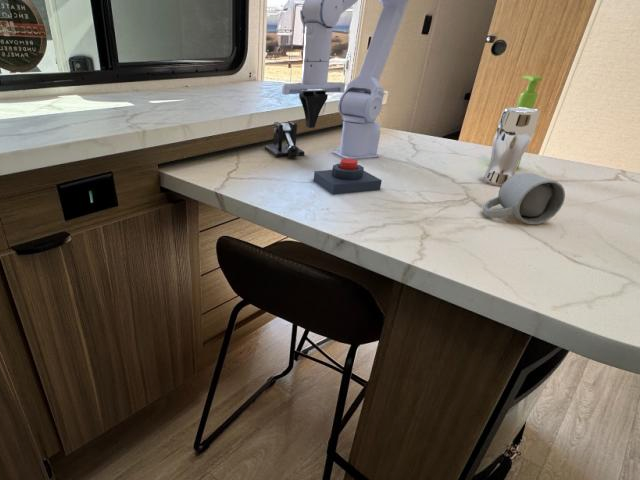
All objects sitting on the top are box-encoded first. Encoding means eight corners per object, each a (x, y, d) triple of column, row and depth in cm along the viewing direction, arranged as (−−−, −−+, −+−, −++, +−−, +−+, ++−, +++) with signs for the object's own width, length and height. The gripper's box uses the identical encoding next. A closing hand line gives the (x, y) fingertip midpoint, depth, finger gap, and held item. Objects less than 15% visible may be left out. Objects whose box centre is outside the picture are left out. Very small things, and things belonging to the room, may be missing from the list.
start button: (351, 166, 91) (352, 157, 90) (359, 170, 88) (360, 162, 87) (336, 167, 90) (337, 159, 89) (344, 171, 87) (345, 163, 86)
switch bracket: (304, 156, 112) (306, 125, 108) (276, 158, 111) (277, 127, 106) (290, 147, 120) (292, 119, 116) (264, 149, 119) (265, 120, 114)
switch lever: (298, 159, 110) (301, 151, 107) (288, 160, 109) (290, 151, 107) (287, 130, 115) (290, 121, 112) (277, 131, 114) (279, 122, 111)
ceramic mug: (527, 207, 79) (543, 167, 75) (555, 224, 72) (574, 181, 68) (472, 209, 79) (484, 168, 75) (494, 225, 72) (509, 182, 68)
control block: (357, 177, 96) (359, 159, 94) (380, 190, 88) (383, 171, 86) (313, 180, 94) (315, 163, 92) (333, 195, 86) (335, 175, 84)
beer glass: (521, 186, 90) (549, 112, 82) (489, 186, 90) (513, 112, 82) (505, 177, 96) (529, 106, 88) (474, 177, 96) (496, 106, 88)
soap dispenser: (509, 163, 106) (540, 74, 95) (521, 170, 100) (556, 77, 89) (485, 162, 107) (513, 74, 96) (496, 170, 101) (527, 77, 90)
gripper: (338, 59, 96) (331, 122, 103) (278, 60, 93) (276, 125, 100) (352, 61, 90) (344, 127, 97) (290, 62, 87) (286, 131, 94)
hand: (310, 127), depth 98 cm, fingers closed
